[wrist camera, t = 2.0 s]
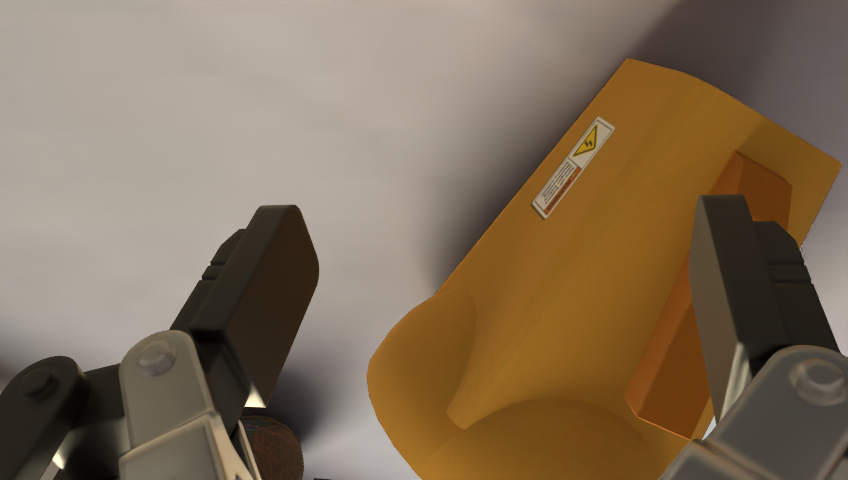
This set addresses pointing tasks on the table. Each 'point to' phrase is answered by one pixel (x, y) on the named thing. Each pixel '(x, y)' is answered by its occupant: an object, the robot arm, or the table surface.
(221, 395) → the robot arm
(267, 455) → the mate gourd
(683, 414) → the flared yellow plastic housing
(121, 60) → the table surface
